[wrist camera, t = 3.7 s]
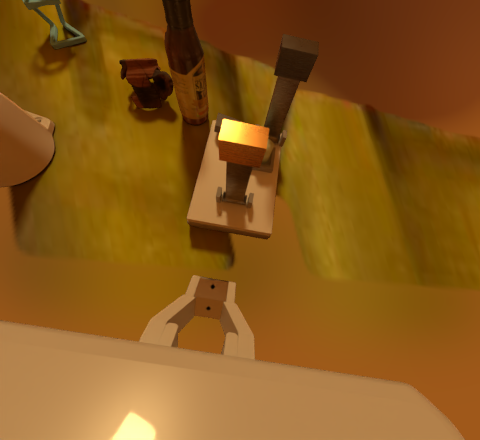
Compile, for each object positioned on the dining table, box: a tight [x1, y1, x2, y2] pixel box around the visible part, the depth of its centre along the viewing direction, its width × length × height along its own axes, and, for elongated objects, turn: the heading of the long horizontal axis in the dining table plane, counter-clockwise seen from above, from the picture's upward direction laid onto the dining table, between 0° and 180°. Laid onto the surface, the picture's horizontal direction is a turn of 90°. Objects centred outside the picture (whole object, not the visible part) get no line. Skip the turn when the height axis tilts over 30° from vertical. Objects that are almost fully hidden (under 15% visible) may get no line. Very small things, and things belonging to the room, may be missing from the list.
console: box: [187, 120, 287, 239], centre depth 33 cm, size 15×22×6 cm
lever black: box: [264, 34, 319, 143], centre depth 28 cm, size 4×2×15 cm, turn 81°
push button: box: [261, 139, 274, 164], centre depth 31 cm, size 3×3×3 cm
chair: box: [23, 0, 87, 49], centre depth 38 cm, size 8×8×12 cm
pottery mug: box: [119, 58, 173, 108], centre depth 39 cm, size 12×9×8 cm
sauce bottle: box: [162, 0, 209, 125], centre depth 31 cm, size 6×6×20 cm
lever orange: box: [218, 119, 269, 205], centre depth 23 cm, size 4×2×15 cm, turn 81°
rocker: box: [214, 113, 240, 133], centre depth 33 cm, size 4×3×2 cm
